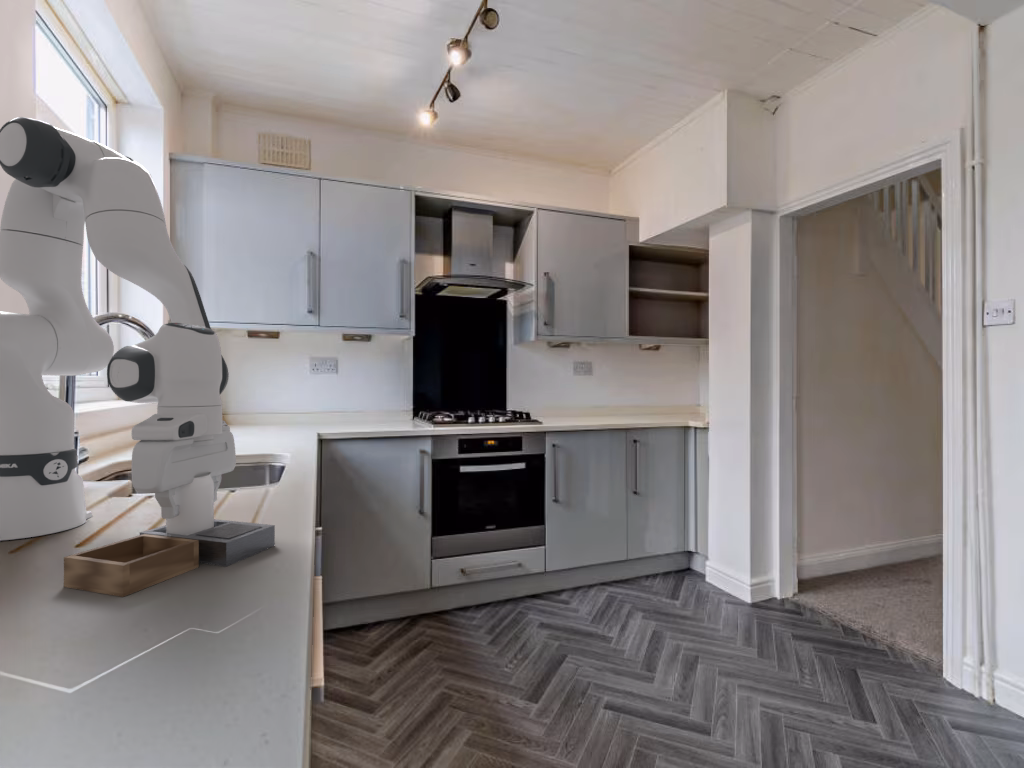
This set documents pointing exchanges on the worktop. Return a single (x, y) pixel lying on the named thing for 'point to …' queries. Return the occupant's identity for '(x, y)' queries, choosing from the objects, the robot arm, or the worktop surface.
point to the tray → (227, 541)
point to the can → (193, 507)
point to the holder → (130, 564)
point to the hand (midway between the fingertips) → (190, 509)
